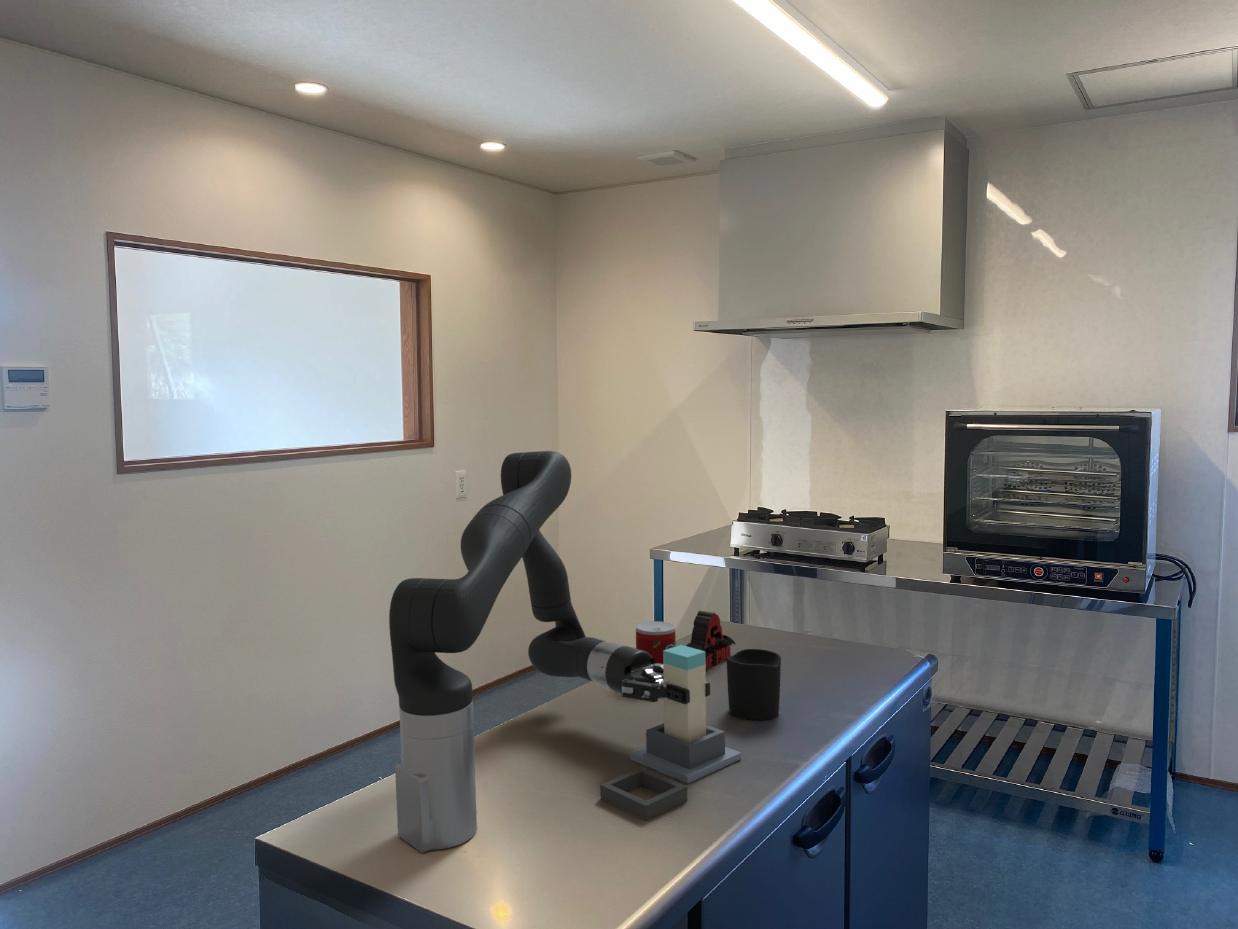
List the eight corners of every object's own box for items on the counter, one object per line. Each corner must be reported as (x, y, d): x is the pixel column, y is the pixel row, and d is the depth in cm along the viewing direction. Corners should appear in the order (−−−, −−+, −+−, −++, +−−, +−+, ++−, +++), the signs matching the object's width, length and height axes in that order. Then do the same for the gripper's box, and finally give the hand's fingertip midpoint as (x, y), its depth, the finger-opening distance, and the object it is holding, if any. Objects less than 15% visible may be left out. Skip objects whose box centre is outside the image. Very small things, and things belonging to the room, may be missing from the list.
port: (688, 783, 127) (687, 753, 127) (630, 759, 136) (630, 731, 136) (741, 759, 135) (740, 730, 135) (683, 737, 144) (683, 710, 144)
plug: (688, 748, 132) (687, 657, 131) (664, 739, 136) (663, 650, 135) (706, 741, 135) (705, 651, 134) (682, 732, 139) (681, 644, 138)
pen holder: (788, 720, 151) (788, 662, 150) (735, 724, 150) (735, 666, 149) (770, 701, 160) (770, 647, 160) (720, 705, 159) (719, 650, 158)
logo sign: (691, 678, 174) (690, 622, 173) (676, 675, 176) (676, 620, 176) (735, 655, 189) (735, 604, 188) (721, 652, 191) (721, 602, 190)
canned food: (656, 691, 167) (655, 634, 166) (628, 681, 173) (627, 626, 172) (684, 681, 172) (684, 626, 171) (656, 672, 178) (655, 619, 177)
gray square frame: (646, 820, 117) (645, 805, 116) (600, 798, 123) (600, 784, 123) (687, 800, 122) (686, 786, 122) (641, 780, 129) (641, 767, 128)
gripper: (587, 655, 140) (665, 680, 128) (650, 637, 150) (729, 658, 137) (588, 701, 141) (666, 731, 128) (651, 680, 151) (729, 705, 138)
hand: (698, 693), depth 133 cm, fingers closed on plug, 4 cm apart
